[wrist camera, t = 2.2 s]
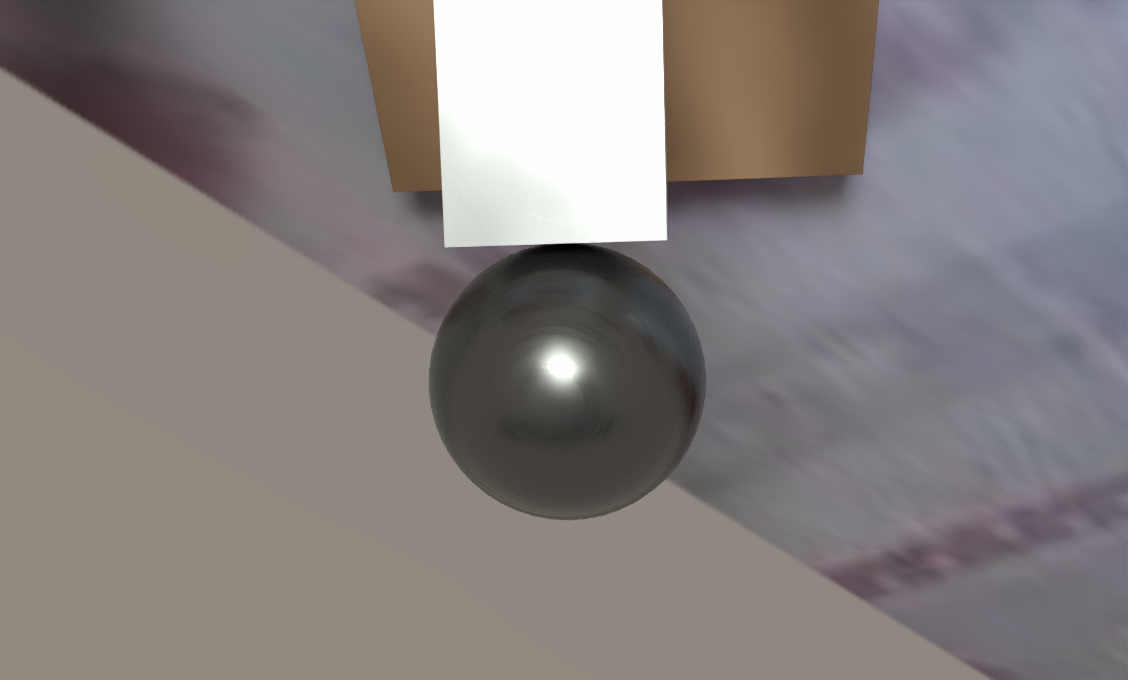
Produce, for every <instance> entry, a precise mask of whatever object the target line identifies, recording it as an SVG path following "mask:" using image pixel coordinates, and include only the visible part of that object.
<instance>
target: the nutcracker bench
mask: <svg viewBox="0 0 1128 680" xmlns="http://www.w3.org/2000/svg"><path fill="white" fill-rule="evenodd" d="M355 4H356V9H357V14H358V19H359V24H360V29H361V34H362V39H363V44H364V49H365V54H366V59H367V64H368V69H369V74H370V79H371V84H372V89H373V94H374V99H375V104H376V109H377V114H378V119H379V124H380V128H381V133H382V138H383V143H384V148H385V153H386V158H387V163H388V168H389V173H390V178H391V183H392V188H393V192H413V191H439V190H442V175H441V153H440V130H439V108H438V85H437V63H436V41H435V18H434V0H355ZM878 5H879V0H663V19H664V63H665V107H666V152H667V182H674V181H700V180H726V179H752V178H778V177H804V176H830V175H856V174H863V165H864V154H865V144H866V133H867V122H868V112H869V101H870V90H871V79H872V69H873V58H874V47H875V37H876V26H877V15H878Z"/></svg>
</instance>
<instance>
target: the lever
mask: <svg viewBox="0 0 1128 680" xmlns="http://www.w3.org/2000/svg"><path fill="white" fill-rule="evenodd" d="M434 18H435V41H436V63H437V85H438V108H439V130H440V153H441V175H442V197H443V220H444V242H445V247H468V246H499V245H530V244H545V245H541V246H536V247H532V248H528V249H525V250H522V251H520V252H517V253H514V254H512V255H510V256H508V257H506V258H504V259H502V260H500V261H498V262H497V263H495V264H493V265H492V266H490V267H489V268H488V269H486V270H485V271H483V272H482V273H481V274H479V275H478V276H477V277H476V278H475V279H474V280H473V281H472V282H471V283H470V284H469V285H467V286H466V287H465V288H464V290H463V291H462V292H461V293H460V295H459V296H458V297H457V298H456V300H455V301H454V302H453V304H452V306H451V307H450V309H449V311H448V312H447V314H446V316H445V317H444V319H443V322H442V324H441V326H440V329H439V331H438V333H437V337H436V340H435V344H434V347H433V351H432V355H431V362H430V369H429V393H430V403H431V408H432V413H433V417H434V420H435V424H436V427H437V429H438V432H439V434H440V437H441V439H442V441H443V443H444V445H445V447H446V449H447V451H448V452H449V454H450V456H451V457H452V458H453V460H454V461H455V463H456V464H457V466H458V467H459V468H460V470H461V471H462V472H463V473H464V474H465V475H466V476H467V477H468V478H469V479H470V480H471V481H472V482H473V483H474V484H475V485H476V486H477V487H479V488H480V489H481V490H482V491H484V492H485V493H486V494H488V495H489V496H491V497H492V498H494V499H495V500H497V501H498V502H500V503H502V504H504V505H506V506H509V507H510V508H513V509H515V510H517V511H520V512H523V513H526V514H529V515H532V516H537V517H542V518H548V519H558V520H578V519H588V518H593V517H598V516H603V515H606V514H609V513H612V512H615V511H618V510H620V509H622V508H624V507H626V506H629V505H631V504H633V503H635V502H636V501H638V500H639V499H641V498H642V497H644V496H645V495H647V494H648V493H650V492H651V491H653V490H654V489H655V488H656V487H657V486H658V485H659V484H661V483H662V482H663V481H664V480H665V479H666V478H667V477H668V476H669V475H670V474H671V473H672V471H673V470H674V469H675V468H676V467H677V466H678V464H679V463H680V461H681V460H682V458H683V457H684V455H685V454H686V452H687V451H688V449H689V447H690V445H691V442H692V440H693V438H694V436H695V434H696V431H697V428H698V425H699V422H700V419H701V415H702V411H703V405H704V400H705V388H706V373H705V361H704V356H703V352H702V347H701V343H700V340H699V337H698V334H697V332H696V329H695V326H694V324H693V322H692V320H691V318H690V316H689V315H688V313H687V311H686V309H685V308H684V306H683V305H682V303H681V302H680V300H679V299H678V298H677V296H676V295H675V294H674V293H673V291H672V290H671V289H670V288H669V287H668V286H667V285H666V284H665V283H664V282H663V281H662V280H661V279H660V278H659V277H657V276H656V275H655V274H654V273H653V272H651V271H650V270H649V269H648V268H646V267H644V266H643V265H641V264H640V263H638V262H636V261H635V260H633V259H631V258H629V257H627V256H625V255H622V254H620V253H618V252H616V251H612V250H609V249H606V248H603V247H599V246H594V245H588V244H582V243H592V242H624V241H655V240H668V196H667V152H666V107H665V63H664V19H663V0H434Z"/></svg>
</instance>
